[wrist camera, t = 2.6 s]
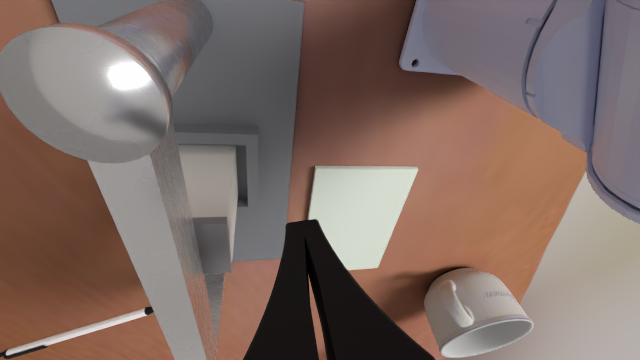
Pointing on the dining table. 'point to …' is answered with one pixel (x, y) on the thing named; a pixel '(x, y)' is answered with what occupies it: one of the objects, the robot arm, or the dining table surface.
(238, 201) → the socket board
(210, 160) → the plug
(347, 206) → the mat
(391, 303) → the dining table surface
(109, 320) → the pen
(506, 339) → the teacup
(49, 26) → the grey long bar piece
